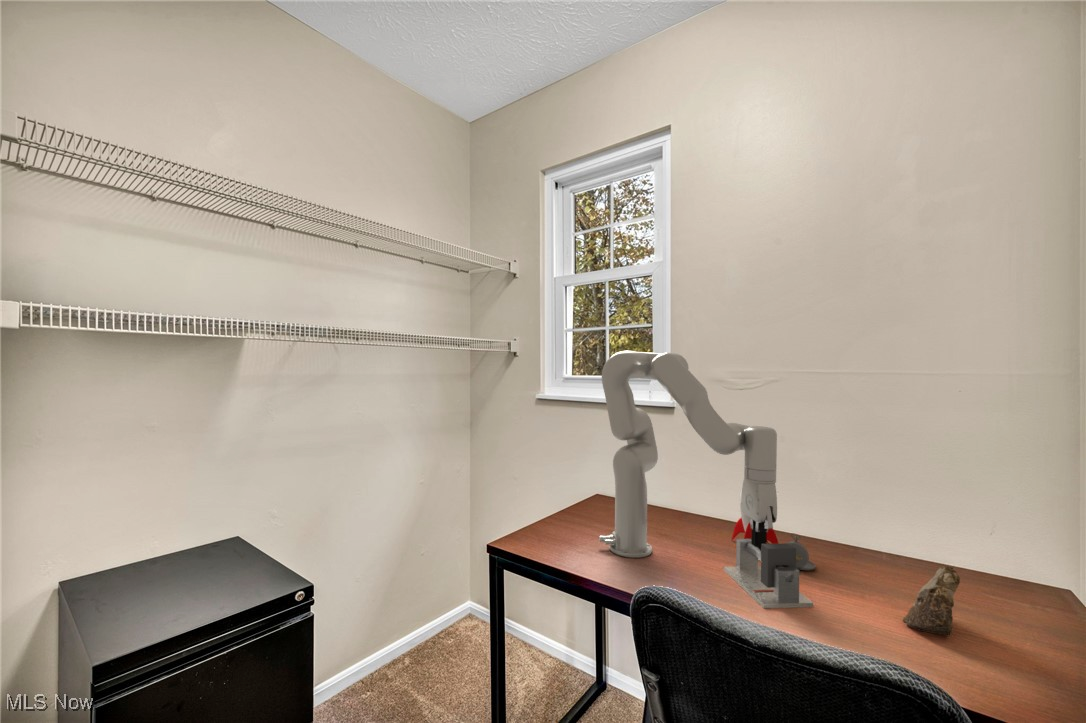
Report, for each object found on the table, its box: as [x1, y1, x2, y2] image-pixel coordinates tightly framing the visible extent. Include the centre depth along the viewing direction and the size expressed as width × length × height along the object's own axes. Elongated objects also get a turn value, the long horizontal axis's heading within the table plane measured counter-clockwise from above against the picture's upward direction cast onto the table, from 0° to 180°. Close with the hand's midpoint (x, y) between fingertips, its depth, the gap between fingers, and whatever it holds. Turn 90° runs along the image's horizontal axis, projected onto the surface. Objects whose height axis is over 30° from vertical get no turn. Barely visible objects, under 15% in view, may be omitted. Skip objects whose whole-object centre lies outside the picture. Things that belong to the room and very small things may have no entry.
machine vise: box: [723, 538, 814, 609], centre depth 118 cm, size 12×20×8 cm, turn 4°
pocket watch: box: [787, 532, 816, 571], centre depth 130 cm, size 8×8×10 cm
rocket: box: [731, 489, 779, 549], centre depth 144 cm, size 11×11×25 cm
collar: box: [760, 542, 797, 588], centre depth 112 cm, size 7×3×9 cm, turn 94°
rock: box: [902, 565, 961, 637], centre depth 101 cm, size 15×8×15 cm
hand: (758, 545), depth 121 cm, fingers closed
